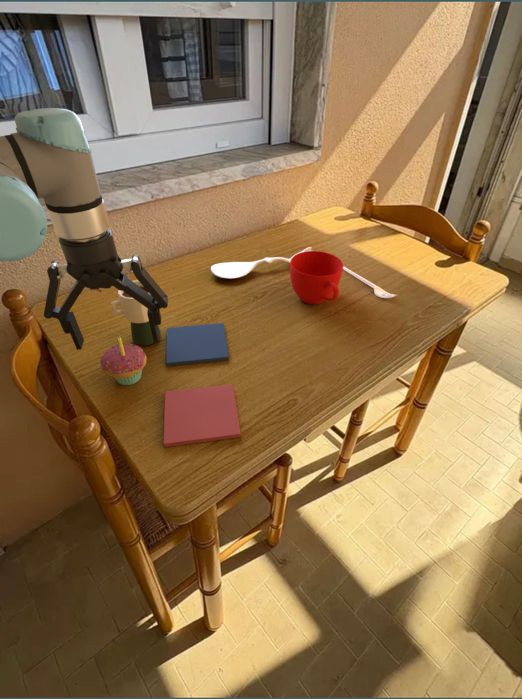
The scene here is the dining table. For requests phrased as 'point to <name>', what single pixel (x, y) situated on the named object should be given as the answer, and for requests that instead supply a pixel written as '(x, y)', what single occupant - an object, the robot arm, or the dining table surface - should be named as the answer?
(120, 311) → the character mug
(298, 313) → the dining table surface
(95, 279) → the robot arm
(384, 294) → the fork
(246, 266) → the spoon
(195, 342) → the blue mat
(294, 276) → the ceramic cup
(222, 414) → the rose mat
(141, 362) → the cupcake
